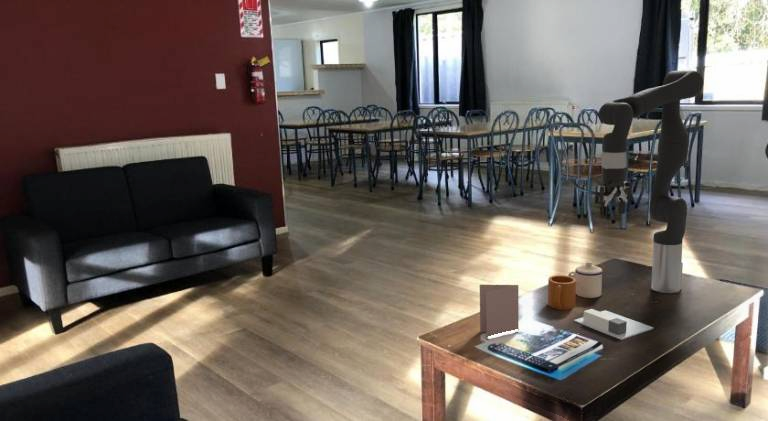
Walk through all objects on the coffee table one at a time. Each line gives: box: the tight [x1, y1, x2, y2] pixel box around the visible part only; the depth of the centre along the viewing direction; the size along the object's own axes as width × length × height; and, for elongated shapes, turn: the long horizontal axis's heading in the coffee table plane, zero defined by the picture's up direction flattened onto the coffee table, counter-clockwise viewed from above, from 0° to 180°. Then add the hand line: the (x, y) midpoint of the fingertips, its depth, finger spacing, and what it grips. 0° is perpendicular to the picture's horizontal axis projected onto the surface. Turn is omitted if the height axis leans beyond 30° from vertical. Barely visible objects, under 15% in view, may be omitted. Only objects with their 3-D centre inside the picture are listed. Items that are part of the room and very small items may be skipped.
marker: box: [582, 308, 627, 335], centre depth 192 cm, size 14×3×3 cm, turn 30°
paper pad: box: [573, 310, 654, 341], centre depth 194 cm, size 14×18×1 cm
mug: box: [547, 274, 577, 310], centre depth 210 cm, size 9×12×9 cm
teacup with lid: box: [567, 261, 603, 299], centre depth 221 cm, size 12×9×12 cm
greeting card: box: [479, 284, 519, 338], centre depth 188 cm, size 11×7×15 cm, turn 80°
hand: (612, 215), depth 206 cm, fingers open, 8 cm apart
